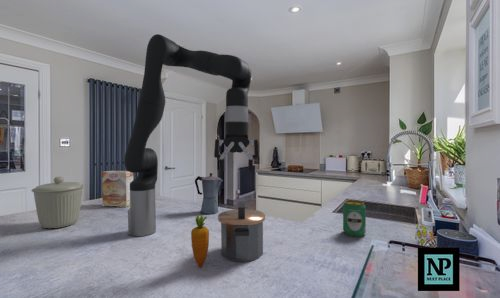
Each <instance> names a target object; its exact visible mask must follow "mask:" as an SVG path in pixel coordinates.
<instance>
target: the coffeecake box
mask: <svg viewBox="0 0 500 298" xmlns="http://www.w3.org/2000/svg"><path fill="white" fill-rule="evenodd" d="M133 180H134V173H132V172H129V171H128V170H108V171H107V170H106V171H101V183H102V184H101V185H102V187H101V188H102V191H101V192H102V195H101V196H102V206H103V205H104V206H120V207H119V208H128V207H127V206H129V207H130V183H131V182H132V181H133Z"/></svg>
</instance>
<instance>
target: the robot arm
mask: <svg viewBox="0 0 500 298" xmlns="http://www.w3.org/2000/svg"><path fill="white" fill-rule="evenodd" d="M146 47H147V48H146V53H145V61H144V63H145V64H144V70H143V71H144V72H143V78H142V84H141V89H140V95H139V98H138V103H137V108H136V114H135V119H134V123H133V127H132V131H131V134H130V137H129V141H128V144H127V147H126V151H125V154H124V161H123V163H124V167H125V170H126V171H129V172H132V173H133V174H134V173H135V174H136V173H138V174H137V177H136V178H135V179H133V181H132V182H131V183H130V206H129V209H128V210H127V222H128V223H127V224H128V226H127V227H128V233H127V234H128V235H129V236H134V237H143V236H144V237H146V236H149V235H152V234H155V232H156V231H157V221H156V220H157V216H156V215H157V214H156V213H157V212H156V211H157V210H156V209H157V208H156V207H157V206H156V205H157V204H156V184H157V180H158V170H159V169H158V167H159V164H158V162H159V161H158V155H157V153H156V151H155V150H154V149H152V148H150V147H146V146H147V143H148V140H149V138H150V136H151V134H152V133H153V131H154V130H155V129H156V128H157V127H158V125H159V124H160V122H161V121H162V119H163V116H164V112H165V108H166V107H165V106H166V95H165V91H164V87H163V83H162V72H163V71H162V70H163V66H167V67H180V68H186V69H187V68H189V69H192V70H195V71H198V72H201V73H205V74H208V75H212V76H216V77H217V76H220V77H223V78H226V79H229V80H232V83H231V87H230V88H228V89H227V90H226V93H225V114H224V122H225V123H224V139H219V138H217V139H215V140H214V151H213V152H214V155H213V157H214V158H216V159H218V160H219V169H220V170H221V172H225V169H226V168H225V163H226V160H225V158H226V156H227V155H228V154H229V152H230V153H241V154H242V153H244V154H245V155H246V156H247V158H248V165H247V166H248V169H247V170H248V172H249V173H250V172H251V171H252V170H253V168H254V167H253V166H254V165H253V164H254V162H253V161H254V160H255V159H258V158H259V157H260V156H259V155H260V154H259V140H258V139H249V109H248V108H249V107H248V106H249V105H248V102H249V101H248V100H249V98H248V97H249V95H248V94H249V91H250V87H251V80H252V69H251V67H250V65H249V63H248V62H246V61H245V60H243V59H241V58H239V57H238V56H236V55H232V54H222V53H221V54H219V53H217V52H211V51H208V50H192V49H191V50H190V49H187V48H185V47H183V46H181V45H179V44H177V43H176V42H175V41H174V40H171V39H170V38H168V37H166V36H164V35H161V34H159V33H158V34H154V35H152V36H151V37H150V39H149V41H148V43H147V46H146ZM222 144H224V146H225V147H226V148H225V150H224V151H223V152H222V153H221V154H220V146H221V147H222ZM250 144H251V146H252V147H253V149H254V150H253V151H254V152H253V153H254V154H251V152H250V151H249V150H248V149H247V147H249V145H250Z"/></svg>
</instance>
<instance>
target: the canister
mask: <svg viewBox="0 0 500 298" xmlns="http://www.w3.org/2000/svg"><path fill="white" fill-rule="evenodd" d="M84 187H85V185H84V184H82V183H80V182H76V181H65V179H64V177H63V176H55V177H54V178H53V182H50V183H43V184H40V185H37V186H36V187H34V188H32V189H31V192H32V193H33V196H34V203H35V209H36V215H37V220H38V224H39V226H40V227H41V228H43V229H46V228H48V230H49V229H51V228H55V229H60V227H62V228H65V226H66V227H70V226H73V225H74V224H76V223H77V222H78V220H79V218H80V212H81V204H82V195H83V194H82V193H83V189H84ZM69 225H70V226H69Z"/></svg>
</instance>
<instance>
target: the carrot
mask: <svg viewBox="0 0 500 298" xmlns="http://www.w3.org/2000/svg"><path fill="white" fill-rule="evenodd" d="M207 218H208V216H204V215H200V214H196V217H195V223H196V225H197V226H195V227H194V228H192V229H191V232H190V238H191V250H192V254H193V258H194V260H195V262H196V264H197V266H198V267H199V268H202V267H204V266H203V265H204V264H205V262H206V259H207V256H208V253H209V252H208V251H209V246H210V243H209V241H210V240H209V239H210V230H209V228H208V227H206V226H204V225H205V221H206V219H207Z"/></svg>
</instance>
